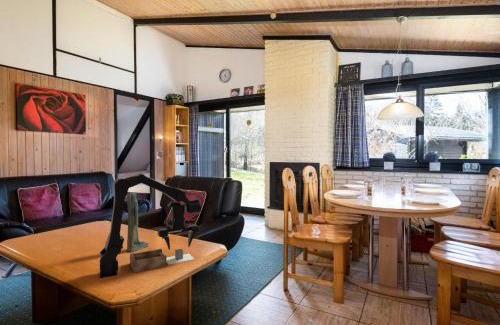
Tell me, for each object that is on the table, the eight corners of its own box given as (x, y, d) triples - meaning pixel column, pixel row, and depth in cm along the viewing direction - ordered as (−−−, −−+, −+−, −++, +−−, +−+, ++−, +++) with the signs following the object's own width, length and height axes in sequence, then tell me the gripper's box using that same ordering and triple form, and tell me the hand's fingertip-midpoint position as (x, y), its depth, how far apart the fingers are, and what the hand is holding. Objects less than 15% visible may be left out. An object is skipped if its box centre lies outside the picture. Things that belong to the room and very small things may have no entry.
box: (132, 272, 120) (132, 262, 120) (130, 263, 131) (129, 253, 131) (166, 266, 127) (166, 256, 126) (161, 257, 137) (161, 248, 137)
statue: (149, 246, 156) (147, 191, 155) (131, 252, 146) (130, 193, 146) (140, 244, 159) (139, 190, 158) (123, 250, 150) (121, 193, 149)
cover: (168, 265, 129) (167, 254, 128) (164, 259, 136) (164, 249, 136) (194, 261, 134) (194, 250, 134) (189, 255, 142) (189, 245, 142)
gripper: (193, 210, 146) (193, 241, 147) (155, 214, 138) (155, 246, 138) (199, 214, 136) (200, 247, 137) (159, 219, 128) (160, 253, 128)
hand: (179, 248), depth 135 cm, fingers open, 9 cm apart
